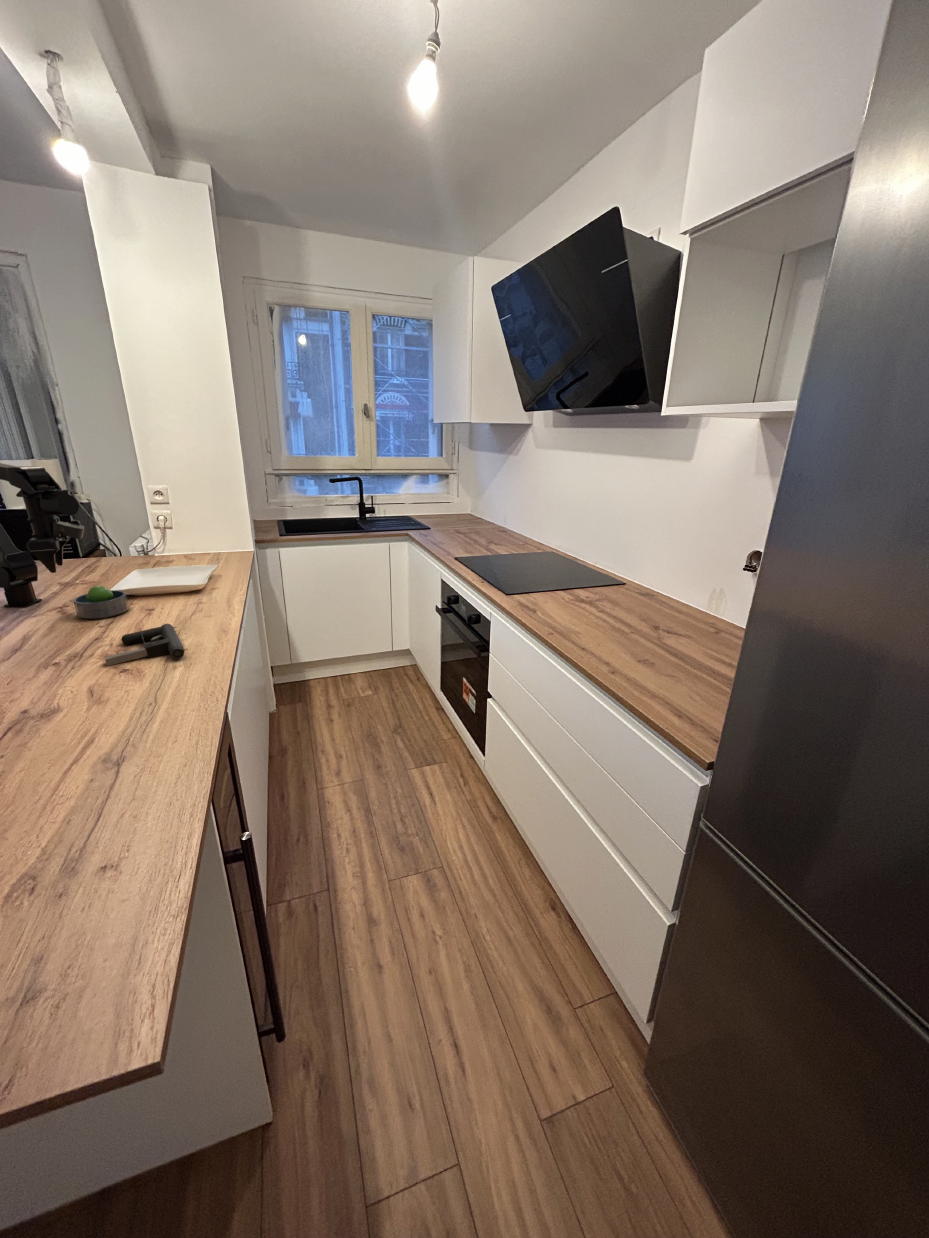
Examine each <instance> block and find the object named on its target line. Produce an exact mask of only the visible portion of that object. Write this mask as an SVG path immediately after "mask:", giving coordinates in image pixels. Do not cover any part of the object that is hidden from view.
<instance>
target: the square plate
mask: <svg viewBox="0 0 929 1238" xmlns="http://www.w3.org/2000/svg"><path fill="white" fill-rule="evenodd" d="M217 567H218V564H200V565H199V564H198V565H175V566H174V565H173V566H162V567H160V566H159V567H150V568H138V569H134V570H132V571H131V572H130V573H129V574H126V576H124V577H123V578H122V579H121V580H119V581H118V582H117V583H116V584H115V585H113V586H112V587H111V588H110V589H109V591H111V590H113V591H123V592H125V593H126V596H139V597H141V596H152V595H163V594H178V593H189V592H194V591H199V590H202V589H203V588H204V587H205V586H206V584H207V583H208V581H209V579H210V577H211V576H212V574H213V573H214V572H215V571H216V569H217Z"/></svg>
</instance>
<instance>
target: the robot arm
mask: <svg viewBox="0 0 929 1238" xmlns="http://www.w3.org/2000/svg"><path fill="white" fill-rule="evenodd" d="M0 480H2V481H5V482H8V483H9V485H10V486H12V487H15V488H17V489H19V491H18V492H17V493H16V494H15V496H16V497H17V498H23V503H24V507H25V510H26V513H27V516H28V518H27V520H26V521H27V523H28V524H30V527H31V530H32V533H31V538H30V539H29V540H28V541H27V542H26V543H25V545H26V549H27V550H24V551H22V550H20V549H19V548H17V546H16V545H15V544H14V543H13V541H12V539H11V538H10V536H9V535H8V534H7V531H6V530H5V528H4V526H3V525H2V524H1V523H0V589H3V591H4V592H3V594H4V597H5V599H6V603H4V604H3V607H5V608H7V607H8V608H9V607H10V608H11V607H12V608H13V607H15V608H18V607H19V608H21V607H23V608H24V607H25V608H27V607H28V606H29V607H30V606H32V605H35V604H36V603H39V602H41V601H43V599H42V598H37V595H36V592H35V589H34V586H33V583H34V582H38V579H39V577H38V576H39V568H38V566H37V561H35V560H34V558H33V557H32V555H33V556H34V557H35V558H36V559H37V560H38V561H39V562H40V563H41V564H42V565H43V566H44V567H45V568H46V569H47V570H48V571H49V572H50V573H51V574H56V573H57V566H59V567H60V566H63V565H64V546H65V545H66V544H67V542H69V538H73V539H74V540H82V538H83V537H84V533H85V525H82V524H81V522H80V520H77V519H72V520H71V521H70V522H68V521H61V520H60V517H59V516H67V517H68V516H69V517H73V516H75V515H76V514H77V513H78V512H79V510H80V503H79V501H78V500H77V498H76V497H75V496H73V494H70V493H69V490H68V489H63V488H62V487H61V486H60V484H59V483H58V482H56V480H55V479H54V478H53V477H52V475H51V474H50V473H49V472H48V471H47V470H46V468H45V467H43V466H40V465H26V466H25V465H24V466H18V465H17V466H16V465H11V464H7V463H2V462H0Z"/></svg>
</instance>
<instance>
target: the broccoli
mask: <svg viewBox="0 0 929 1238" xmlns="http://www.w3.org/2000/svg"><path fill="white" fill-rule="evenodd" d="M85 594H86V599H87V600H88V601H90V602H93V603H95V602H103V601H108V600H110V599H112V598H113V593H112V592H111V591H110V589H109V588H108V587H106V586H104V585H94V586H92V587H91V588H90V589H89V590H88V592H87V593H85Z"/></svg>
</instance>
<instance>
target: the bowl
mask: <svg viewBox="0 0 929 1238" xmlns="http://www.w3.org/2000/svg"><path fill="white" fill-rule="evenodd" d="M111 592H112V593H113V598H112V599H110V600H108V601H103V602H95V603H93V602H90V601H88V600H87V599H86V594H87V593H85V594H81V595H79V596H76V597H74V598H73V600H72V602H73V606H74V609H75V613H76V616H77V617H79V618H80V619H87V620H100V619H101V620H102V619H107V618H112V617H116V616H120V615H122V614H123V613H125V612H127V611H128V610H129V609H130V606H129V601H128V597H127V596H128V595H126V593H125V592H123V591H113V590H111Z"/></svg>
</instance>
